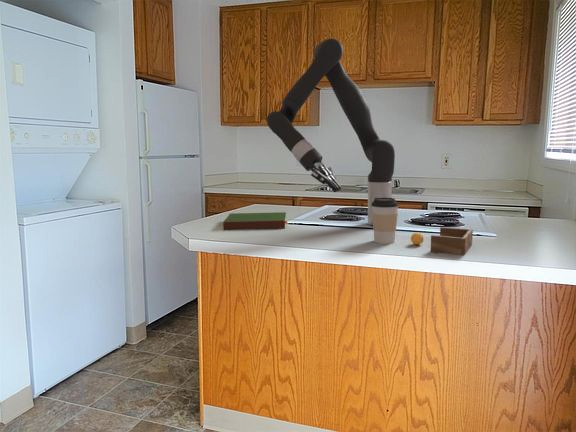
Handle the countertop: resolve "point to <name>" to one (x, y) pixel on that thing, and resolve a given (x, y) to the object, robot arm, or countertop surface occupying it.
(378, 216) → the coffee cup
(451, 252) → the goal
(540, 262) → the countertop surface
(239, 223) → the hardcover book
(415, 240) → the ball
